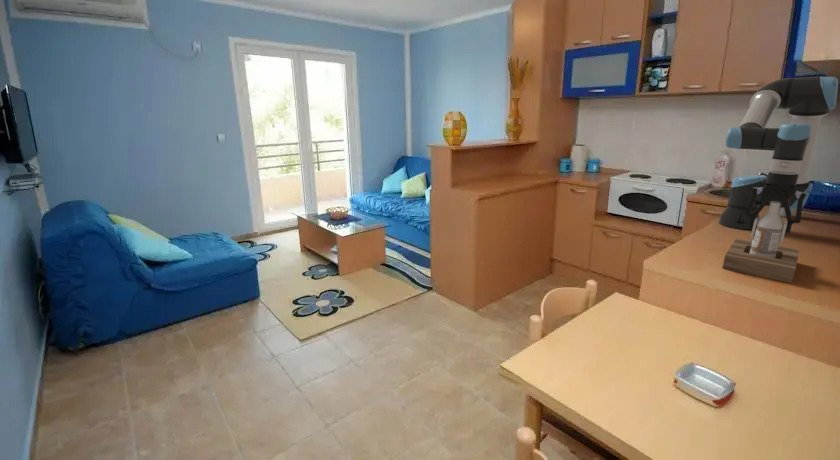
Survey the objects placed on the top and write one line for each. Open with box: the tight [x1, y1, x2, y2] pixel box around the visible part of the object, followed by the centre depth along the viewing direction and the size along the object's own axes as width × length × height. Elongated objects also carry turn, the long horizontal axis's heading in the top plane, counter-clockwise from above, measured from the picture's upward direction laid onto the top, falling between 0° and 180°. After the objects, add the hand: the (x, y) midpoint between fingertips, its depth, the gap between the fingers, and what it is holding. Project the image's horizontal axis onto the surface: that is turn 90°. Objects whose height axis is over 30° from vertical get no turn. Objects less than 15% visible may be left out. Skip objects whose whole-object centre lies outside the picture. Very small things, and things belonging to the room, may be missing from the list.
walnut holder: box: [721, 238, 800, 284], centre depth 141 cm, size 24×18×5 cm
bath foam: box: [749, 201, 784, 258], centre depth 138 cm, size 7×7×20 cm
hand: (766, 238), depth 139 cm, fingers closed on bath foam, 7 cm apart
